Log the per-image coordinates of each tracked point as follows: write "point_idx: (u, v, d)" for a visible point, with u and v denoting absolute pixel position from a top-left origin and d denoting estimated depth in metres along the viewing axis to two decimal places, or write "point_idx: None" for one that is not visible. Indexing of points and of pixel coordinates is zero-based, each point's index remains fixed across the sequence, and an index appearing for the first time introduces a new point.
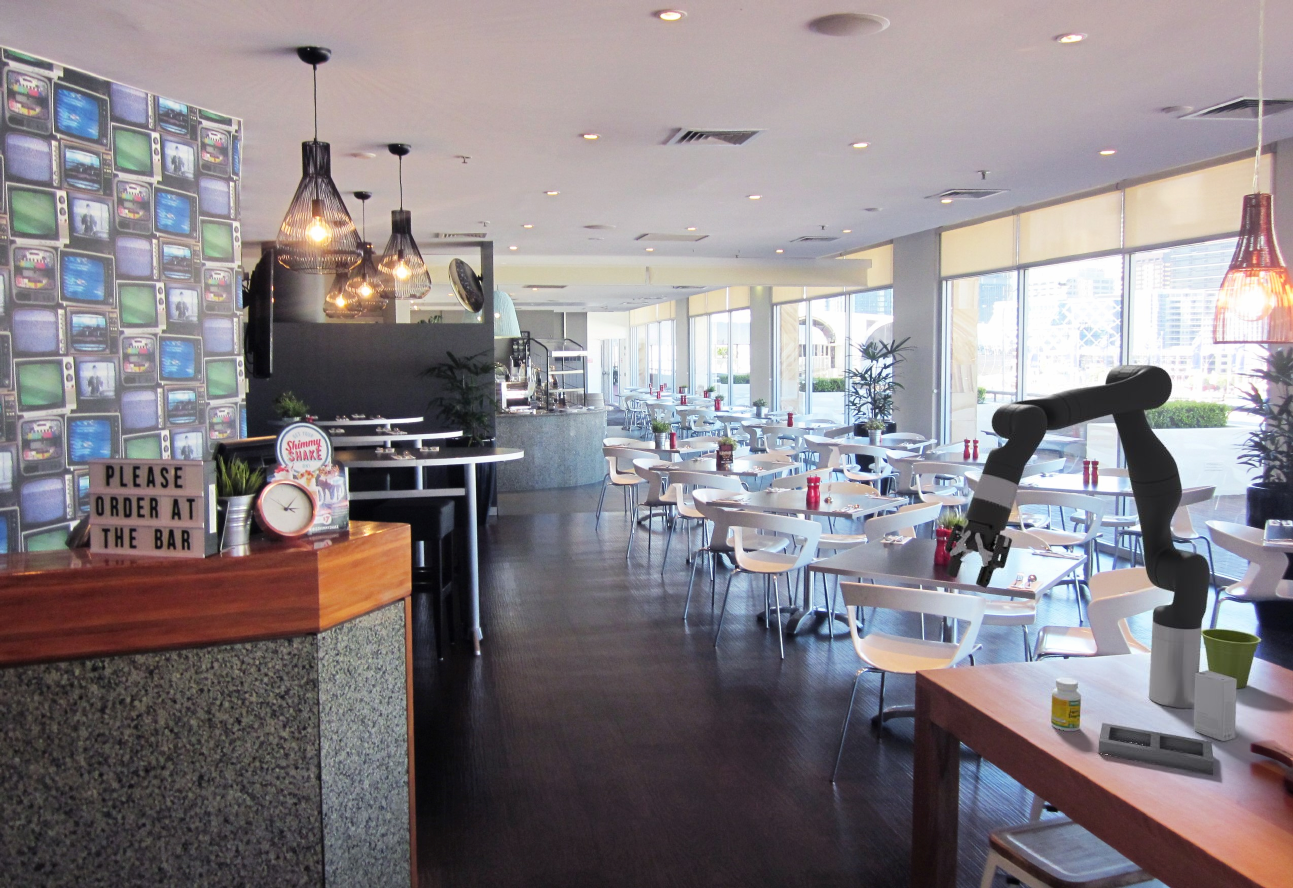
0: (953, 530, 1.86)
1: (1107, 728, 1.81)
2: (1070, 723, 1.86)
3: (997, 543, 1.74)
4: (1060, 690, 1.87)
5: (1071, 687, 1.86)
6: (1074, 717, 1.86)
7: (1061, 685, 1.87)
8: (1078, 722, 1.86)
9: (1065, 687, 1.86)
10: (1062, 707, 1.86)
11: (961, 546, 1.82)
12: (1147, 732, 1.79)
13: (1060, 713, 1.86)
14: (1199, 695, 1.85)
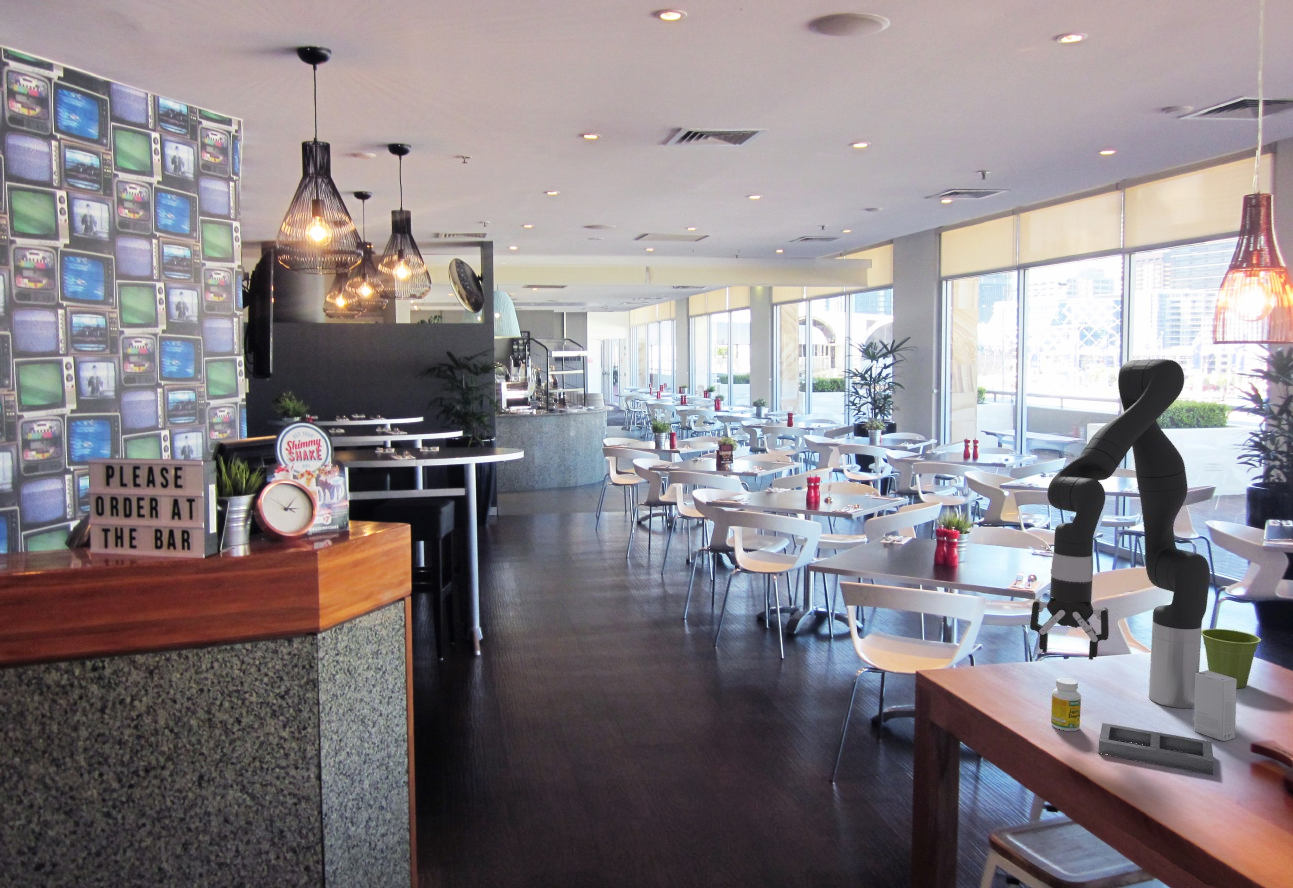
0: (1034, 608, 1.89)
1: (1107, 728, 1.81)
2: (1070, 723, 1.86)
3: (1103, 619, 1.82)
4: (1060, 690, 1.87)
5: (1071, 687, 1.86)
6: (1074, 717, 1.86)
7: (1061, 685, 1.87)
8: (1078, 722, 1.86)
9: (1065, 687, 1.86)
10: (1062, 707, 1.86)
11: (1054, 624, 1.87)
12: (1147, 732, 1.79)
13: (1060, 713, 1.86)
14: (1199, 695, 1.85)
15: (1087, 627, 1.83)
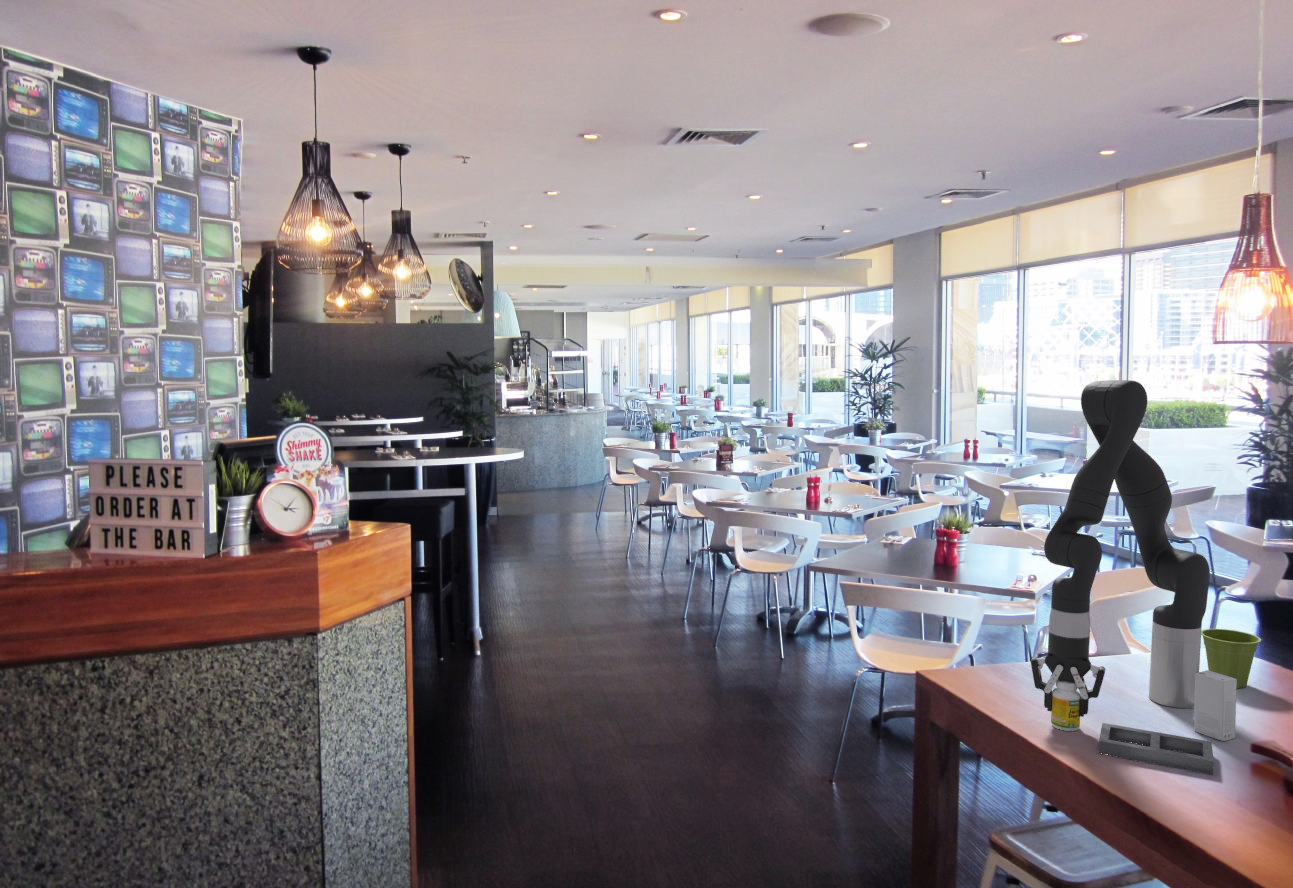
0: (1033, 667, 1.89)
1: (1107, 728, 1.81)
2: (1070, 723, 1.86)
3: (1098, 678, 1.84)
4: (1060, 690, 1.87)
5: (1071, 687, 1.86)
6: (1074, 717, 1.86)
7: (1061, 685, 1.87)
8: (1078, 722, 1.86)
9: (1065, 687, 1.86)
10: (1062, 707, 1.86)
11: (1056, 680, 1.87)
12: (1147, 732, 1.79)
13: (1060, 713, 1.86)
14: (1199, 695, 1.85)
15: (1081, 684, 1.85)
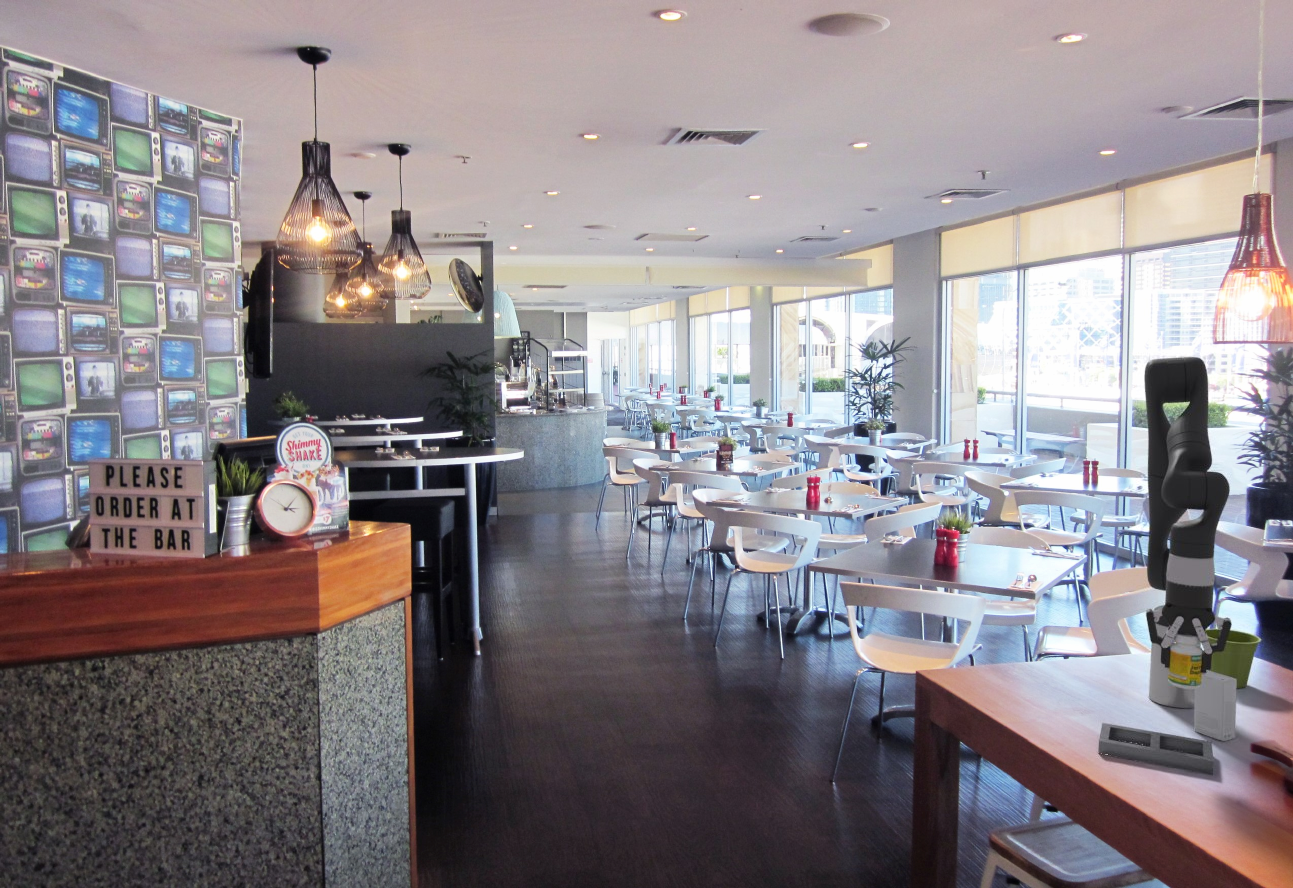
0: (1149, 620, 1.73)
1: (1107, 728, 1.81)
2: (1191, 680, 1.69)
3: (1224, 630, 1.67)
4: (1180, 644, 1.71)
5: (1193, 640, 1.69)
6: (1196, 673, 1.69)
7: (1181, 638, 1.70)
8: (1200, 679, 1.70)
9: (1186, 641, 1.70)
10: (1183, 662, 1.70)
11: (1175, 634, 1.71)
12: (1147, 732, 1.79)
13: (1181, 669, 1.70)
14: (1199, 695, 1.85)
15: (1204, 637, 1.69)
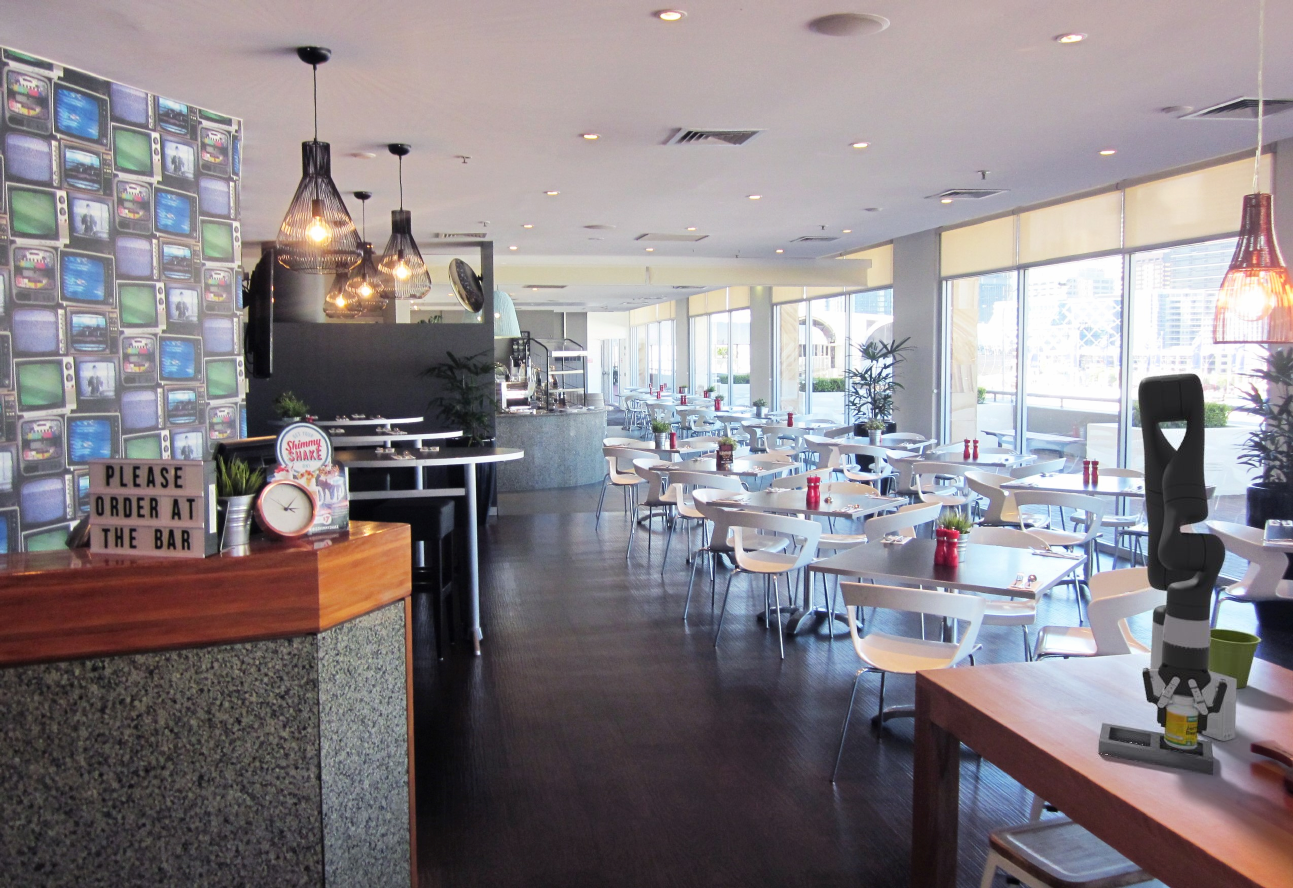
0: (1145, 679, 1.74)
1: (1107, 728, 1.81)
2: (1187, 741, 1.70)
3: (1220, 691, 1.68)
4: (1176, 704, 1.72)
5: (1189, 701, 1.70)
6: (1192, 734, 1.70)
7: (1177, 699, 1.71)
8: (1196, 739, 1.71)
9: (1182, 702, 1.71)
10: (1178, 723, 1.71)
11: (1171, 694, 1.72)
12: (1147, 732, 1.79)
13: (1177, 729, 1.71)
14: None
15: (1200, 698, 1.70)
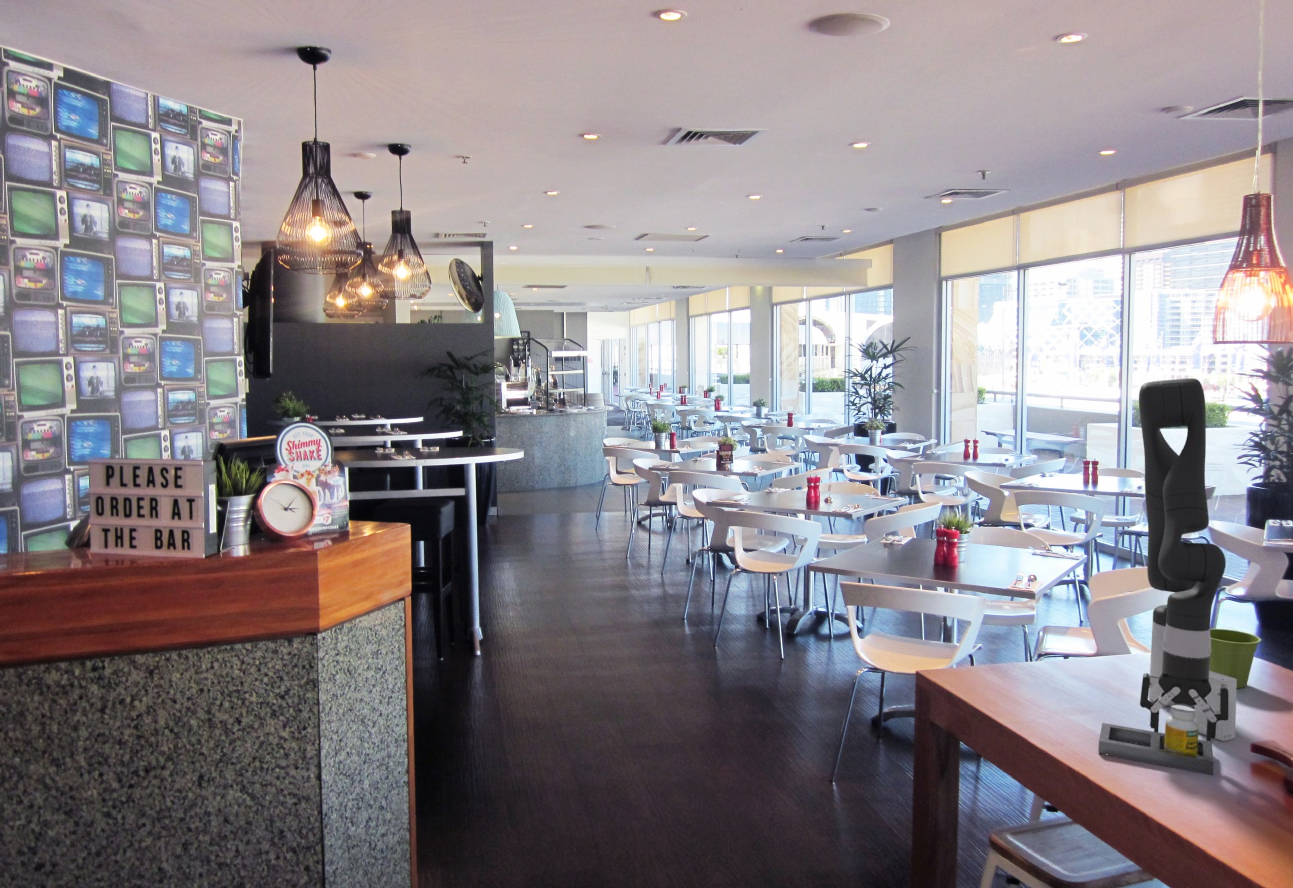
0: (1144, 684, 1.74)
1: (1107, 728, 1.81)
2: None
3: (1223, 698, 1.68)
4: (1176, 719, 1.72)
5: (1189, 716, 1.71)
6: (1192, 749, 1.71)
7: (1177, 714, 1.72)
8: (1196, 754, 1.71)
9: (1182, 716, 1.71)
10: (1178, 737, 1.71)
11: (1167, 702, 1.72)
12: (1147, 732, 1.79)
13: (1177, 744, 1.71)
14: None
15: (1205, 706, 1.69)
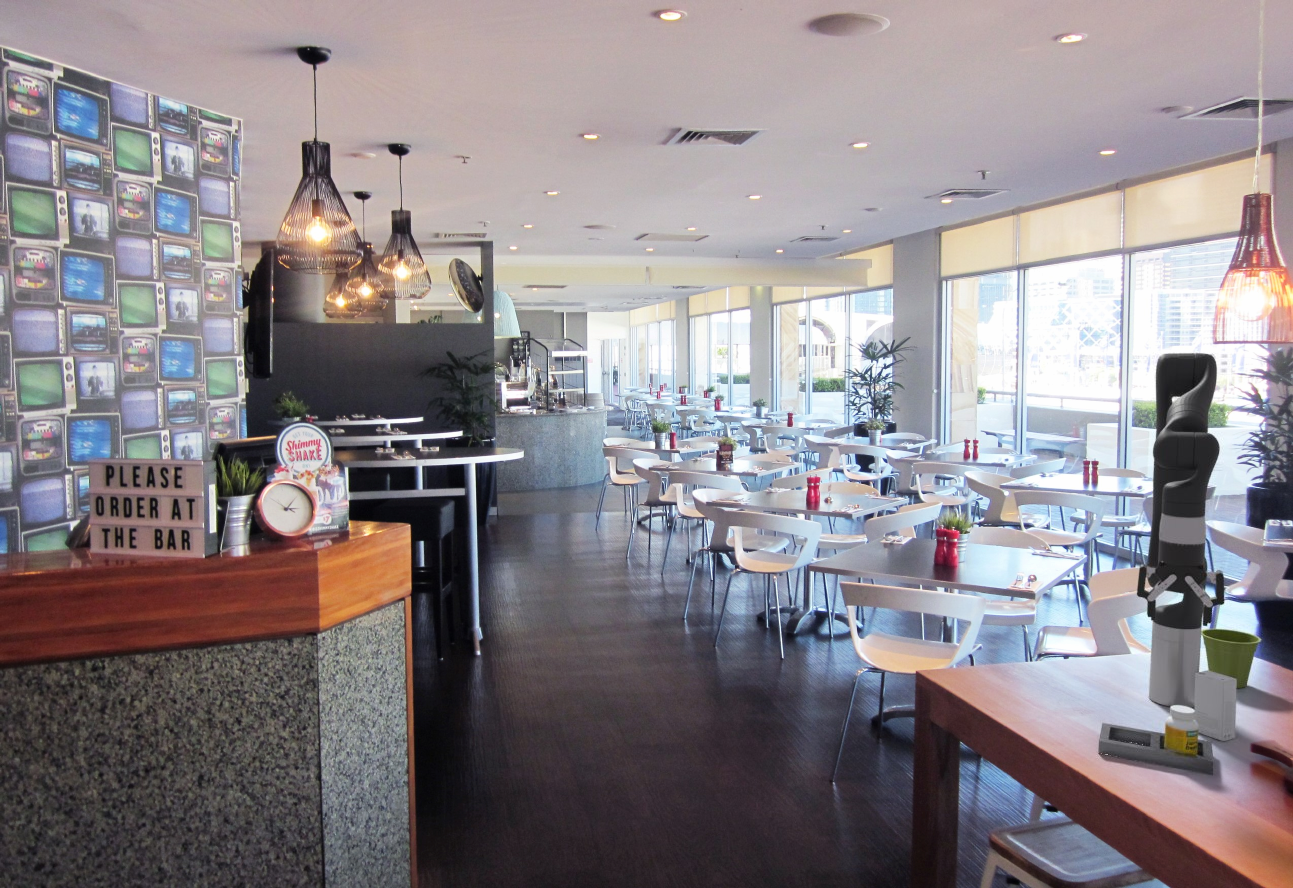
0: (1141, 574, 1.77)
1: (1107, 728, 1.81)
2: None
3: (1218, 582, 1.71)
4: (1176, 719, 1.72)
5: (1189, 716, 1.71)
6: (1192, 749, 1.71)
7: (1177, 714, 1.71)
8: (1196, 754, 1.71)
9: (1181, 716, 1.71)
10: (1178, 737, 1.71)
11: (1164, 590, 1.75)
12: (1147, 732, 1.79)
13: (1177, 744, 1.71)
14: (1199, 695, 1.85)
15: (1201, 592, 1.72)
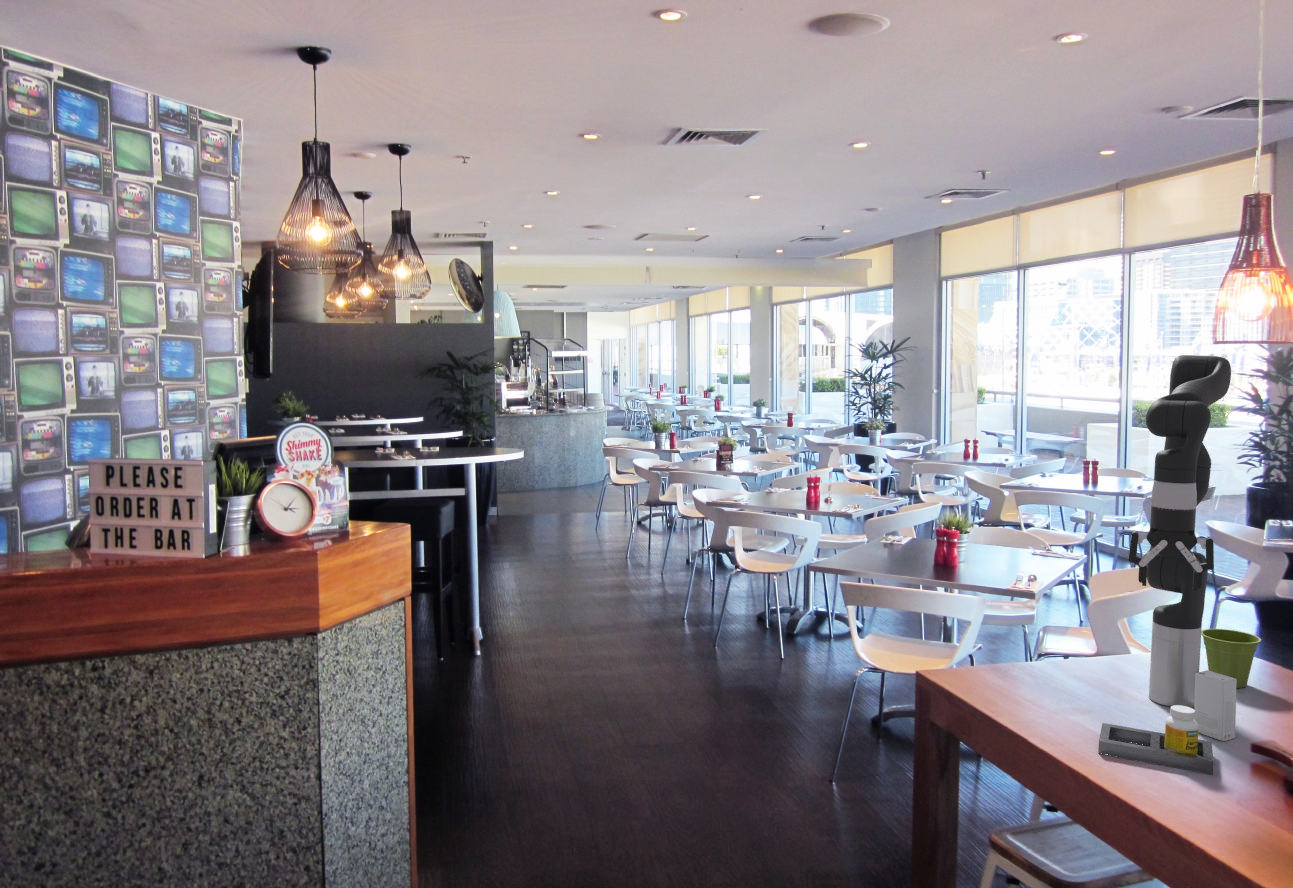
0: (1133, 540, 1.81)
1: (1107, 728, 1.81)
2: None
3: (1208, 548, 1.75)
4: (1176, 719, 1.72)
5: (1189, 716, 1.71)
6: (1192, 749, 1.71)
7: (1177, 714, 1.71)
8: (1196, 754, 1.71)
9: (1182, 716, 1.71)
10: (1178, 737, 1.71)
11: (1155, 555, 1.80)
12: (1147, 732, 1.79)
13: (1177, 744, 1.71)
14: (1199, 695, 1.85)
15: (1191, 557, 1.76)
